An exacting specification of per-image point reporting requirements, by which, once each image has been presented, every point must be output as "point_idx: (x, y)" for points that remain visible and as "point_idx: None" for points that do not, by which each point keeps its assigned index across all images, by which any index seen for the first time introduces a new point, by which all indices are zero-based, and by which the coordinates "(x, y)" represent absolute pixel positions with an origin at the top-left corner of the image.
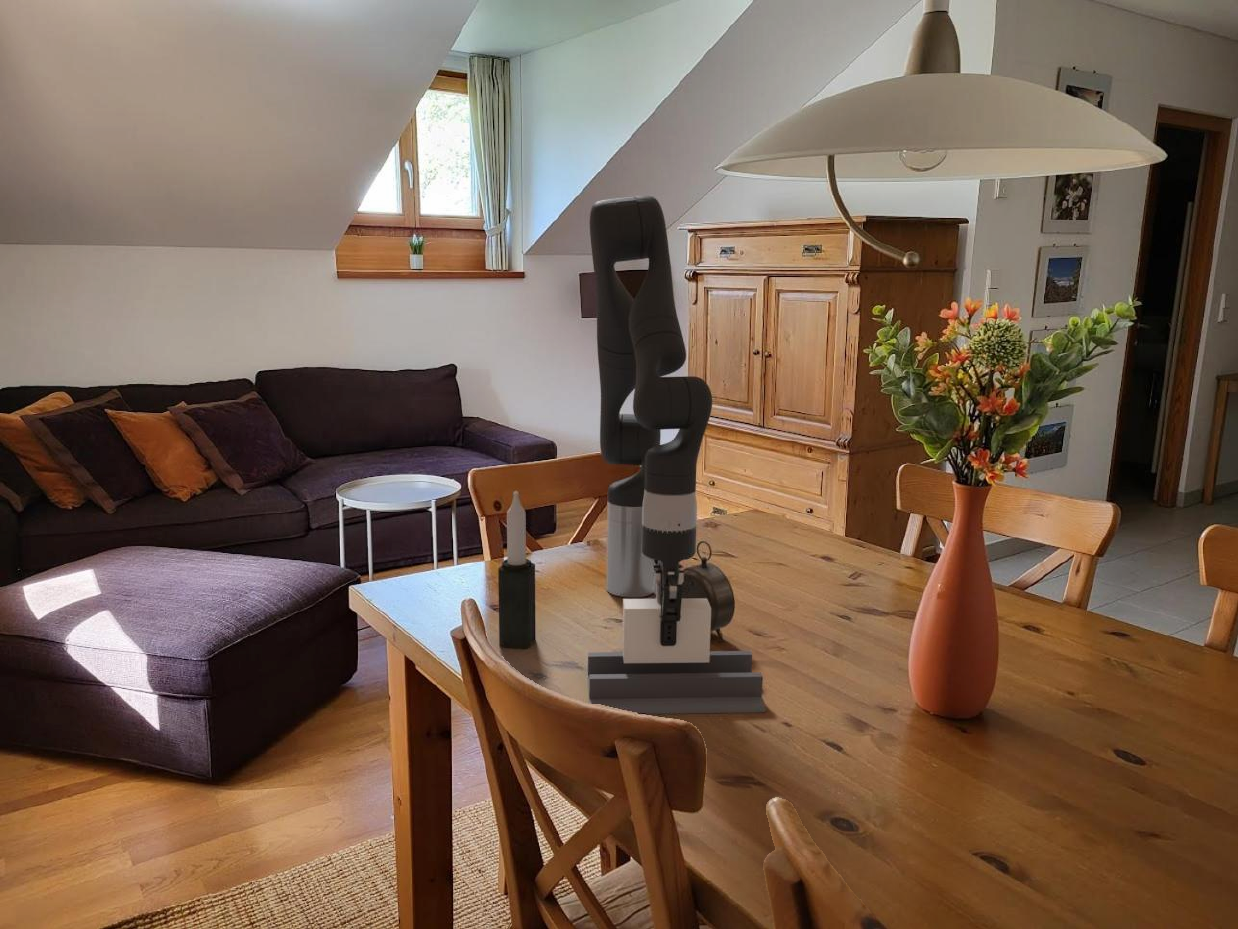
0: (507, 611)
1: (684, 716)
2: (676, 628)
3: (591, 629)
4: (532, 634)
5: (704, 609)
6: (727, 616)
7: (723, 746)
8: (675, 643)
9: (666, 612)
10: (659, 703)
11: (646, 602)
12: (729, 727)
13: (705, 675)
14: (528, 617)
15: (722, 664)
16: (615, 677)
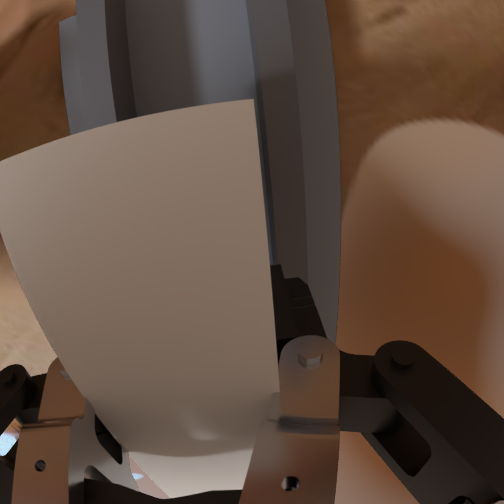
0: None
1: (347, 169)
2: (291, 307)
3: (3, 349)
4: None
5: (259, 175)
6: None
7: (457, 108)
8: (281, 267)
9: (394, 430)
10: (324, 232)
11: (198, 478)
12: (393, 75)
13: (285, 118)
14: None
15: (120, 66)
16: None
